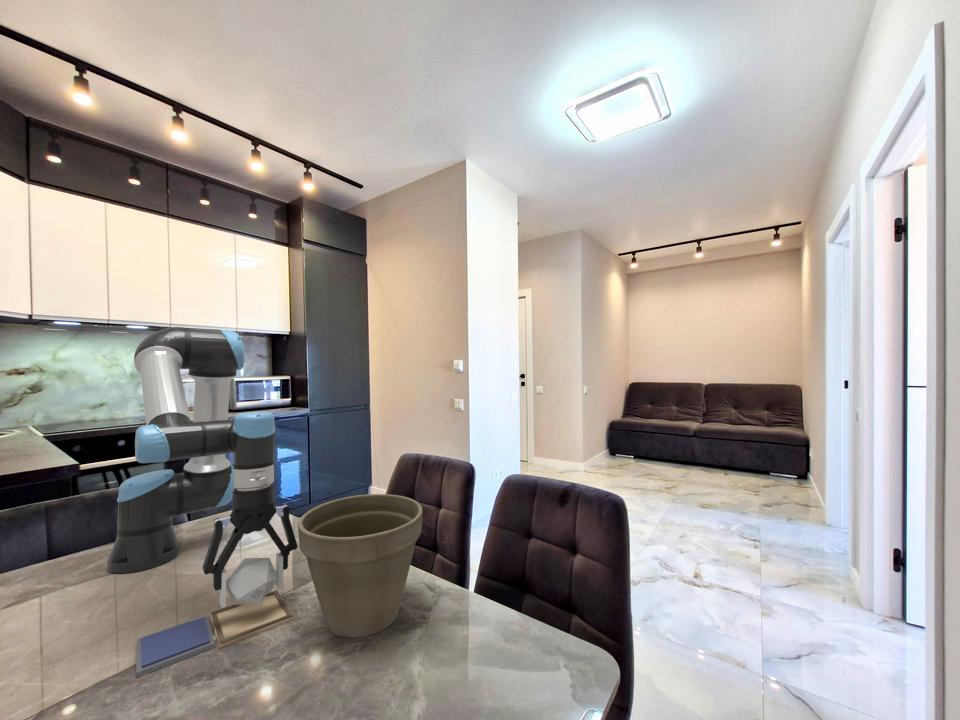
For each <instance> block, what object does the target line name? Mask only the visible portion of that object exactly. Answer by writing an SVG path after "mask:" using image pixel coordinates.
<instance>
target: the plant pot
mask: <svg viewBox="0 0 960 720" xmlns="http://www.w3.org/2000/svg"><path fill="white" fill-rule="evenodd" d="M422 528H423V507H422V505H421V504H420V502H418V501H417V500H415V499H413V498H410V497H407V496H404V495H398V494H390V493H389V494H388V493H371V494H370V493H368V494H366V493H365V494H358V495H357V494H356V495H352V496H351V495H350V496H346V497H342V498H337V499H334V500H333V499H332V500H330V501H327V502H324V503H321V504H318V505H317V506H314V507H313V508H312V509H309V510H308V511H306V512H305V513H304V514H303V515H302V516H301V517H300V518H299V520H298V522H297V533H298V542H299V543H298V545H299V549H300V552H301V553H302V554H303V555H304V556H305V557H306V561H307V565H308V569H309V571H310V572H309V573H310V576H311V579H312V583H313V587H314V589H315V593H316V596H317V597H316V598H317V600H318V603H319V606H320V610H321V613H322V616H323V619H324V623H325V625H326V627H327V629H328V631H329V632H330V633H332V634H334V635H335V636H338V637H341V638H349V639H350V638H351V639H352V638H353V639H355V638H356V639H357V638H363V637H368V636H371V635H374V634H377V633H379V632H382V631H383V630H385V629H386V628H388V627H389V626H390V625H391V624H392V623H393V622H394V621H395V620H396V618H397V617H398V615H399V612H400V608H401V605H402V600H403V596H404V592H405V588H406V585H407V579H408V576H409V572H410V568H411V563H412V559H413V556H414V550H415V546H416V542H417V541H418V539H419V538H420V536H421V534H422Z"/></svg>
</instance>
